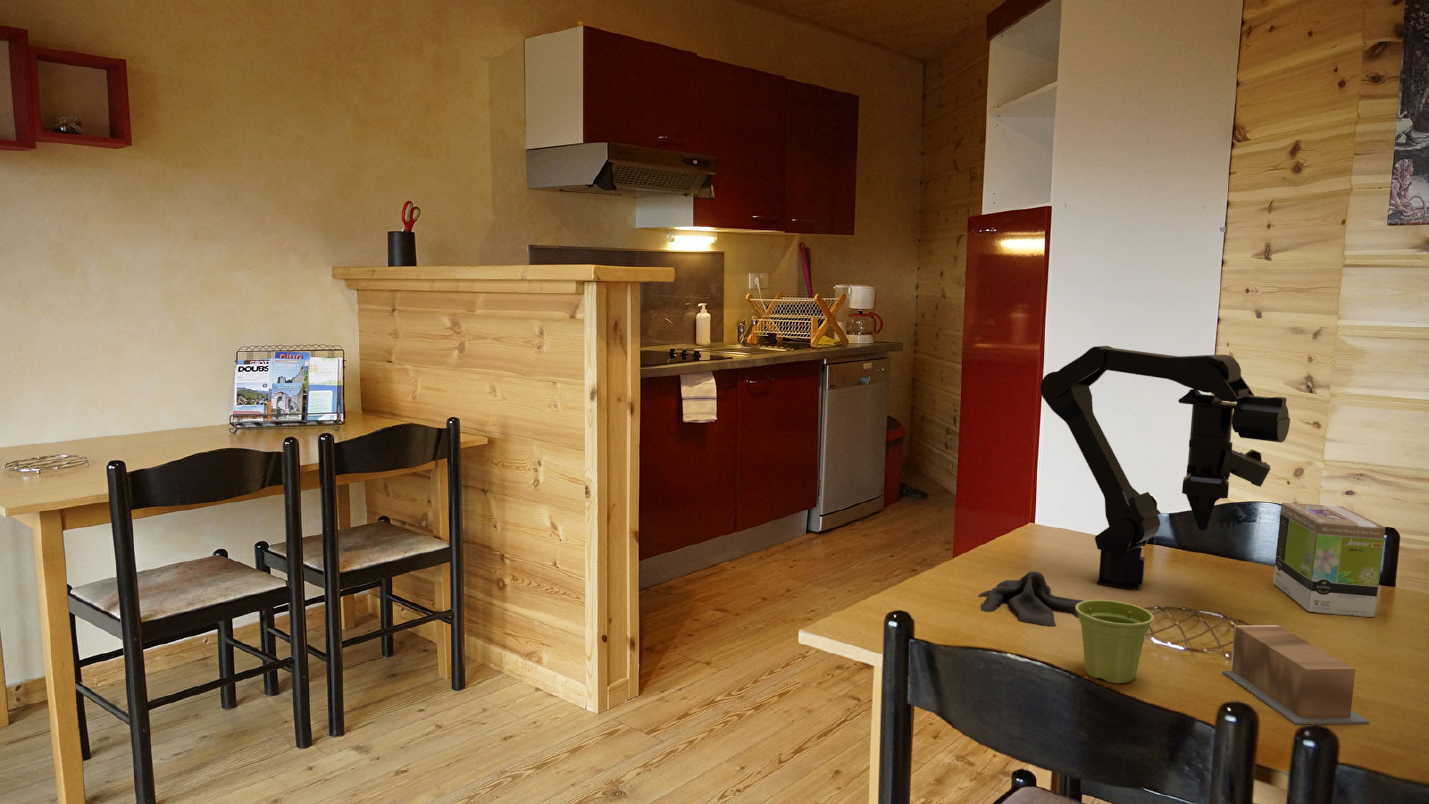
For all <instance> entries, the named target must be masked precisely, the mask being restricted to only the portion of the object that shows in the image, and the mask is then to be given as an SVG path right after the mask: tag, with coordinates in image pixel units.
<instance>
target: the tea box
mask: <svg viewBox="0 0 1429 804" xmlns="http://www.w3.org/2000/svg"><path fill="white" fill-rule="evenodd" d="M1280 506H1281V507H1280V513H1279V523H1278V531H1277V543H1276V550H1275V551H1276V553H1275V563H1274V569H1273V579H1272V580H1273V582H1272V583H1273V584H1274V586H1277V587H1278V589H1280V590H1281V591H1283V592H1284V593H1285V594H1286V595H1287V596H1289V597H1290V598H1291V599H1292V600H1294V601H1295V602H1297V603H1298V604H1299V605H1300V606H1301V607H1302V608H1304V609H1305V610H1306V611H1307V612H1310V613H1311V612H1312V613H1319V614H1329V615H1340V616H1351V615H1353V617H1363V618H1364V617H1367V618H1369V617H1370V618H1374V616H1375V614H1376V610H1377V609H1376V608H1377V601H1378V592H1379V591H1378V590H1379V583H1380V577H1381V570H1382V569H1381V567H1382V561H1383V560H1382V559H1383V552H1384V551H1383V550H1384V546H1385V545H1384V544H1385V535H1386V527H1385V526H1383V525H1382V524H1381V523H1377V522H1375V521H1374V520H1372V519H1370V518H1367V517H1365V516H1363V515H1361V514H1359V513H1357V512H1354V511H1352V510H1350V509H1348V508H1346V507H1345V506H1341V505H1340V506H1339V505H1325V504H1310V503H1309V504H1308V503H1297V502H1296V503H1295V502H1281V505H1280Z"/></svg>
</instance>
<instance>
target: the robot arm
mask: <svg viewBox="0 0 1429 804" xmlns="http://www.w3.org/2000/svg"><path fill="white" fill-rule="evenodd" d="M1107 371H1111V372H1119V373H1126V374H1132V375H1137V376H1138V375H1139V376H1144V377H1152V378H1158V379H1165V380H1169V381H1173V382H1176V383H1178V384H1180V385H1182V386H1184V387H1187V388H1189V391H1188V392H1187V393H1186V394H1185V395H1183V396H1182V397H1180V398H1178V403H1179V404H1183V405H1184V404H1185V405H1192V408H1191V410H1192V411H1191V421H1190V422H1191V423H1190V432H1189V433H1190V434H1189V441H1188V458H1187V466H1186V476H1184V477H1183V481H1182V487H1181V489H1182V491H1181V494H1184V495H1186V498H1187V500H1188V501H1187V502H1188V503H1189V507H1190V509H1191V512H1192V514H1193V518H1194V520H1195V523H1196V526H1197V529H1198V530H1199V531H1203V532H1204V531H1207V530H1208V526H1209V524H1210V520H1211V517H1212V513H1213V510H1214V507H1215V504H1216V502H1217V501H1218V500H1219V501H1220V499H1228V498H1229V488H1230V487H1229V485H1230V481H1229V480H1230V479H1229V478H1230V477H1231V474H1232V475H1233V476H1236V477H1238V478H1240V479H1243V480H1245V481H1247V482H1250V483H1251V485H1253V486H1256V487H1258V488H1259V487H1262V485H1263V484H1264V482H1265V480H1266V478H1267V476H1268V474H1269V473H1270V470H1271V466H1270V464H1268V463H1267V462H1266V461H1263V460H1262V453H1261V452H1259V451H1257V450H1255V449H1250V450H1249V451H1247V452H1245V453H1243V452H1241V451H1240V452H1239V451H1236V450H1234V449H1233V442H1232V441H1231V438H1232V430H1233V432H1234V433H1236V434H1237V433H1238V434H1237V435H1238V436H1239V438H1241V439H1248V440H1256V441H1263V442H1264V441H1266V442H1272V443H1281V444H1282V443H1283V442H1285V440H1286V439H1287V437H1288V434H1289V430H1290V424H1291V417H1290V415H1289V408H1288V407H1287V401H1288V400H1287V398H1286V397H1284V396H1273V397H1270V396H1269V397H1268V396H1259V395H1255V394H1254V393H1253V391H1252V390H1251V388H1250V387H1249V385H1248V384H1247V382H1246V381H1245V379H1244V378H1243V377H1242V372H1241V371H1242V368H1241V367H1240V364H1239V363H1238V361H1237V360H1236V358H1235V357H1234V356H1231V355H1228V354H1208V355H1207V354H1206V355H1203V354H1202V355H1180V356H1179V355H1178V356H1177V355H1171V354H1170V355H1169V354H1164V353H1163V354H1162V353H1155V352H1147V351H1140V350H1131V349H1124V348H1115V347H1112V346H1110V345H1100V346H1099V345H1098V346H1092V347H1090V348H1089V349H1088V350H1087V351H1086V352H1085V353H1083V354H1081V356H1078V357H1077V358H1076V359H1074V360H1073V361H1070V362H1069V363H1068V364H1066V365H1064V366H1063V367H1061V368H1060V369H1059V370H1058V371H1052V372H1051V371H1050V372H1049V373H1047V374H1046V375H1045V376H1043V378H1042V380H1041V383H1040V385H1039V392H1040V396H1041V397H1042V398H1043V400H1044V401H1045V403H1047V405H1048V407H1049V408H1050V409H1051V411H1052V412H1053V413H1055V414H1056V415H1057V416H1058V417H1059V418H1060V419H1062V421H1064V422H1065V423H1066V425H1067V427H1068V428H1069V431H1070V432H1071V434H1072V436H1073V438H1074V440H1075V442H1076V445H1077V446H1078V448H1079V450H1080V452H1081V453H1082V456H1083V458H1084V460H1085V462H1086V463H1087V466H1088V468H1089V469H1090V472H1091V474H1092V476H1093V479H1095V482H1096V484H1097V485H1098V487H1099V489H1100V492H1101V493H1102V495H1103V498H1104V509H1105V518H1106V521H1107V524H1108V527H1107V528H1105V529H1104V530H1102V531H1101V532H1100V533H1098V534H1097V535H1095V537H1094V541H1095V545H1096V549H1097V550H1100V555H1099V556H1100V557H1099V571H1098V578H1097V580H1096V584H1098V585H1101V586H1102V585H1104V586H1109V587H1115V588H1116V587H1117V588H1121V589H1122V588H1123V589H1128V590H1134V591H1135V590H1136V591H1137V590H1138V591H1139V588H1140V585H1142V584H1143V583H1144V577H1145V568H1146V567H1145V565H1146V558H1145V556H1142V555H1143V554H1142V553H1143V548H1142V547H1145V546H1146V545H1147V543H1148V541H1149V539H1151V538H1153V537H1155V536H1156V534H1157V533H1158V532H1159V529H1160V526H1161V519H1160V517H1159V515H1161V511H1160V510H1159V509H1158V508H1157V507H1156V506H1155V503H1154V501H1153V498H1152V495H1151V494H1150V492H1149V491H1147V492H1144V493H1139V491H1137V490H1136V489H1135V488H1134V487H1133V486H1132V485H1131V483H1130V481H1129V479H1128V477H1127V475H1126V473H1125V471H1124V469H1123V468H1122V466H1121V464H1120V462H1119V459H1118V458H1117V456H1116V454H1115V453H1114V452H1115V451H1113V449H1112V447H1111V445H1110V443H1109V441H1108V439H1107V437H1106V435H1105V433H1104V431H1103V429H1102V428H1101V425H1100V423H1099V421H1098V419H1097V418H1096V416H1095V414H1094V409H1093V408H1094V407H1093V405H1094V404H1093V394H1092V391H1091V389H1090V387H1091V386H1093V384H1095V383H1096V382H1097V381H1098V380H1099V379H1101V377H1102V376H1103V375H1104V374H1105V372H1107ZM1202 392H1203V393H1204V394H1203V393H1202ZM1205 393H1209V394H1205Z"/></svg>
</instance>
